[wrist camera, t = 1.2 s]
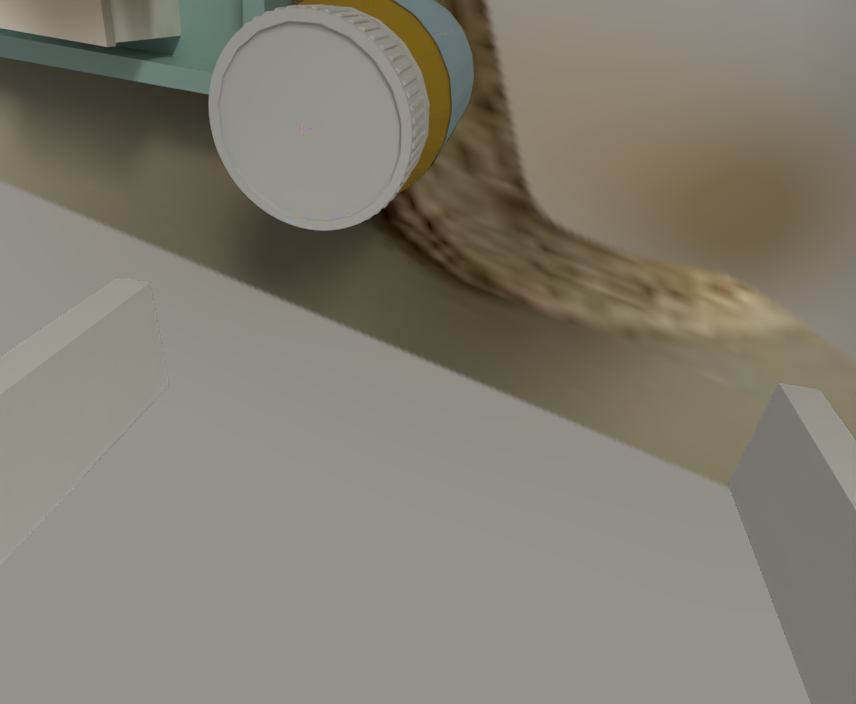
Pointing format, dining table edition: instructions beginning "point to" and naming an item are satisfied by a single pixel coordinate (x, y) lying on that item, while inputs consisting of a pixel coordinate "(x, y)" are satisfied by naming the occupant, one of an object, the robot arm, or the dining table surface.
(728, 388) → the dining table surface
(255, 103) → the bottle
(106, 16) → the beige rectangular box
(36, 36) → the tote
